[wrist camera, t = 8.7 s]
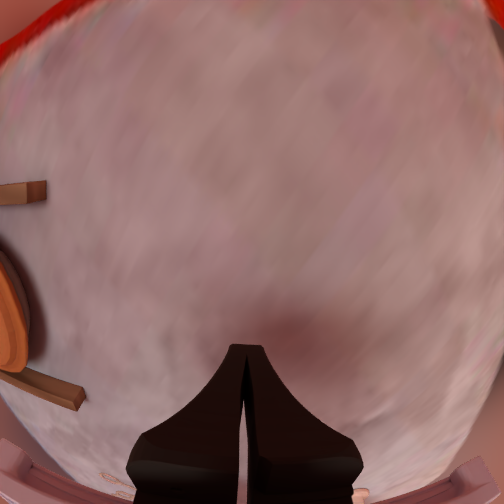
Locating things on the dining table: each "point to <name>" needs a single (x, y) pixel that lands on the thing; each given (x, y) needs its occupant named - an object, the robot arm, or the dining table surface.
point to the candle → (359, 496)
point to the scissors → (121, 484)
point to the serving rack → (27, 378)
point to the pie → (13, 319)
